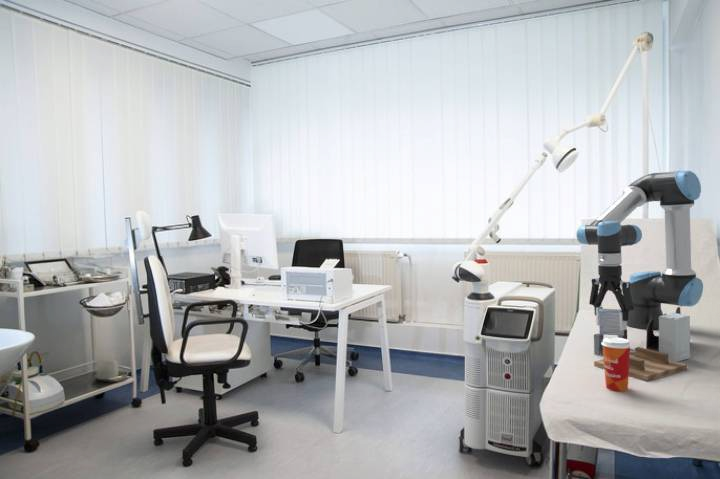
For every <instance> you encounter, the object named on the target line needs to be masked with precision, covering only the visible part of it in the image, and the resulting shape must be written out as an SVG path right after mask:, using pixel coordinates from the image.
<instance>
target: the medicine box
mask: <svg viewBox="0 0 720 479" xmlns="http://www.w3.org/2000/svg"><path fill="white" fill-rule="evenodd" d="M620 311H622V310H621V308H619V309H618V308H616V309H615V308H603V309H599V325H598V328H599V333H598V334H603V336H604V335H605V336H609V335H610V336H618V335H624V330H620V316H619V312H620Z"/></svg>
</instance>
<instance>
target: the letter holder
mask: <svg viewBox="0 0 720 479" xmlns="http://www.w3.org/2000/svg"><path fill="white" fill-rule="evenodd" d="M675 313H678V314H682V313H681V306H678V307H676V310H675ZM667 314H668V313H663V315H667ZM654 330H655V329H654V319H651V320H650V322H649V324H648V327H647V329H646V342H645V343H646V344H645V349H650V350H654V351H658V352H659V335H655V333H654Z"/></svg>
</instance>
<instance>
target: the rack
mask: <svg viewBox="0 0 720 479" xmlns="http://www.w3.org/2000/svg"><path fill="white" fill-rule="evenodd" d="M604 338H605V337H604V335H603V334H599V333H595V334H593V350H594V351H593V354H594V355H596V354H598V355H597V356H601V355H600V354H602V355H603V345H602V344H601V343H602V342H603V339H604ZM617 338H623V339H627V340H628V328H627V329H626V330H624V335H617Z"/></svg>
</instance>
